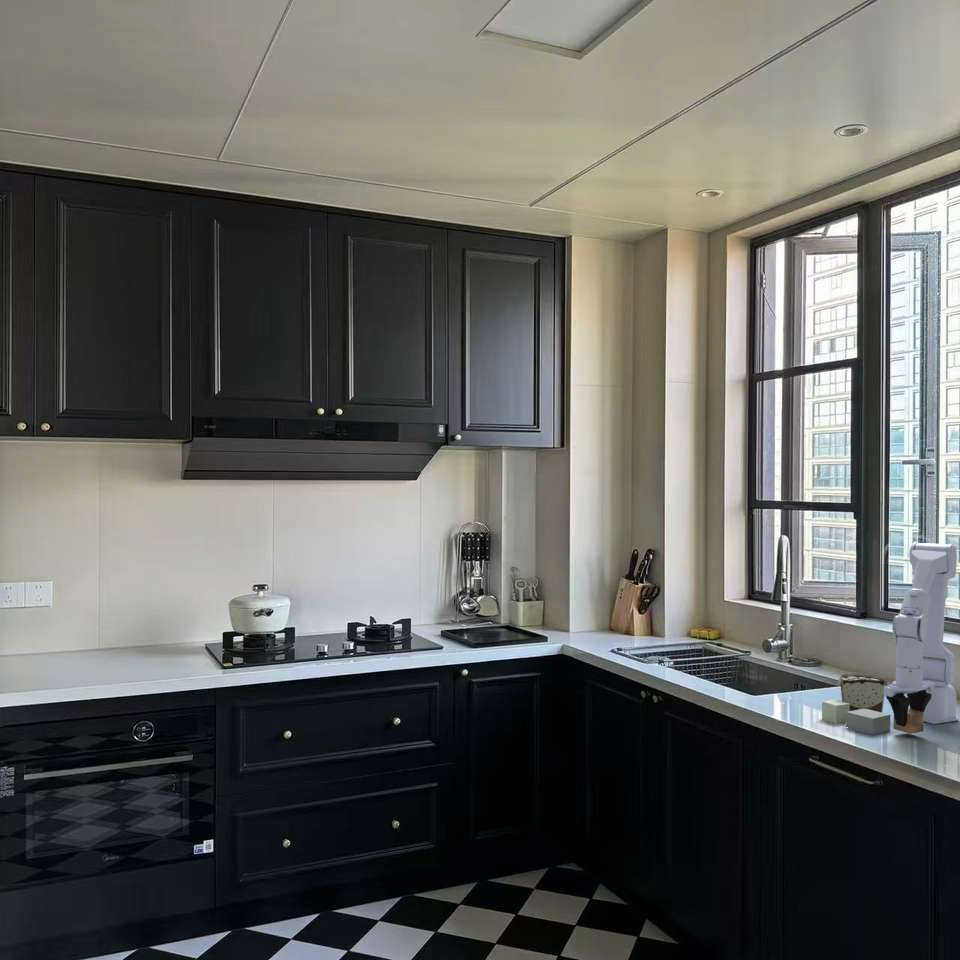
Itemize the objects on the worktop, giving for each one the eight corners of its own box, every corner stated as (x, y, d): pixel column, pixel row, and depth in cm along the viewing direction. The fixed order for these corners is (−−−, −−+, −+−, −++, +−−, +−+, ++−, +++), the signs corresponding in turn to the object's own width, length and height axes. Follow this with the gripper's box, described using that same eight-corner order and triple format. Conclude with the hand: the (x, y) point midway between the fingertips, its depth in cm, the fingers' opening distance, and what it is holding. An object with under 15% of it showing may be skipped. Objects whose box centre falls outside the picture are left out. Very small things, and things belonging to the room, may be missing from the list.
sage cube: (835, 717, 229) (835, 699, 229) (849, 721, 225) (849, 703, 225) (821, 719, 227) (822, 701, 227) (836, 723, 223) (836, 705, 223)
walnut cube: (906, 726, 216) (907, 707, 216) (923, 731, 212) (923, 712, 212) (893, 728, 214) (893, 709, 214) (909, 733, 210) (910, 714, 210)
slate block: (864, 724, 223) (864, 708, 223) (890, 731, 217) (890, 714, 217) (846, 728, 219) (846, 712, 219) (872, 735, 213) (872, 718, 213)
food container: (876, 711, 235) (876, 672, 235) (887, 717, 229) (888, 677, 229) (829, 711, 235) (829, 672, 235) (839, 717, 229) (839, 677, 229)
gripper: (915, 660, 220) (915, 716, 220) (872, 665, 213) (872, 723, 213) (941, 665, 213) (941, 723, 213) (898, 671, 207) (897, 730, 207)
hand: (908, 724), depth 213 cm, fingers closed on walnut cube, 4 cm apart
